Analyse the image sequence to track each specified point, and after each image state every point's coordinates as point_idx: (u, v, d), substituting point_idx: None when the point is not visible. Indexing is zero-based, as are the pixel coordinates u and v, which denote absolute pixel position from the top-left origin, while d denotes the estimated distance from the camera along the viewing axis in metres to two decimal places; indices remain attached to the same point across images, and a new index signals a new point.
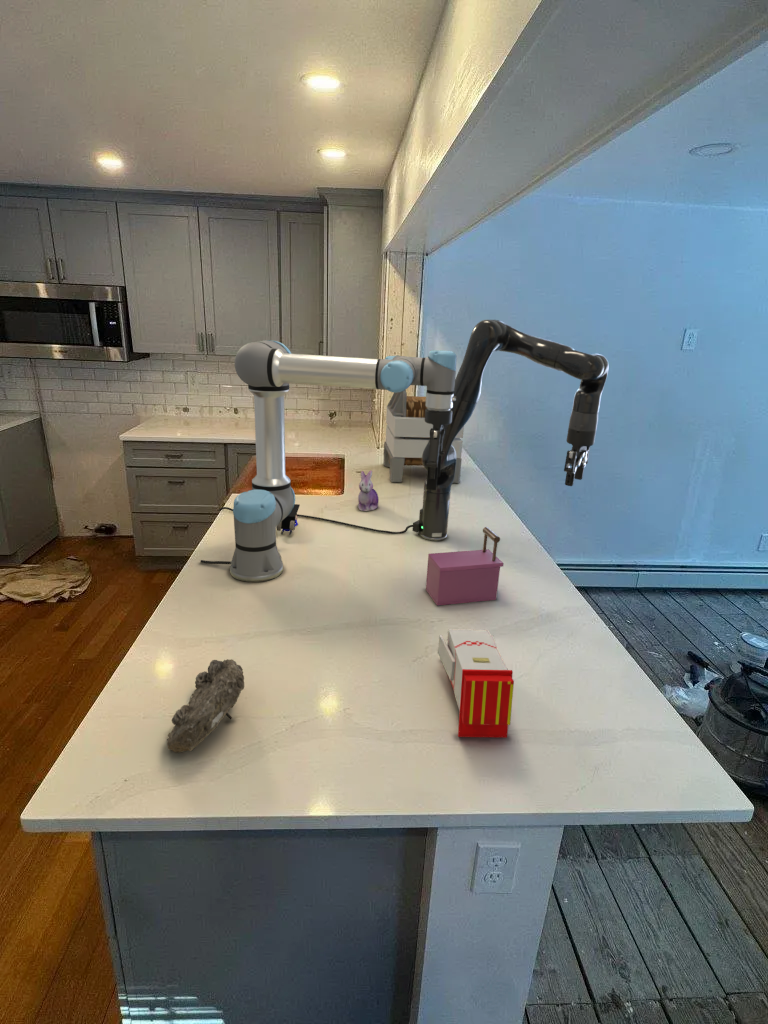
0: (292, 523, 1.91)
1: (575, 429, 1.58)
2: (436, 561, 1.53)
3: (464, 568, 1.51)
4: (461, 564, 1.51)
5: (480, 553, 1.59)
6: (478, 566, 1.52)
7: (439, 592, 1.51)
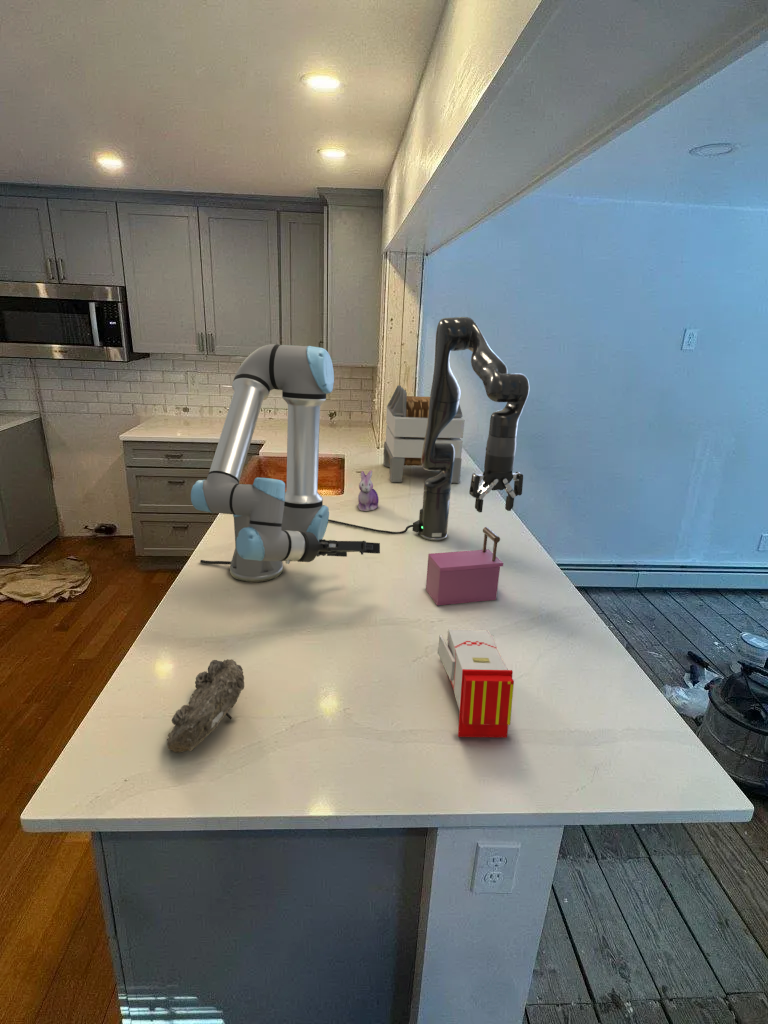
0: None
1: None
2: (436, 561, 1.53)
3: (464, 568, 1.51)
4: (461, 564, 1.51)
5: (480, 553, 1.59)
6: (478, 566, 1.52)
7: (439, 592, 1.51)
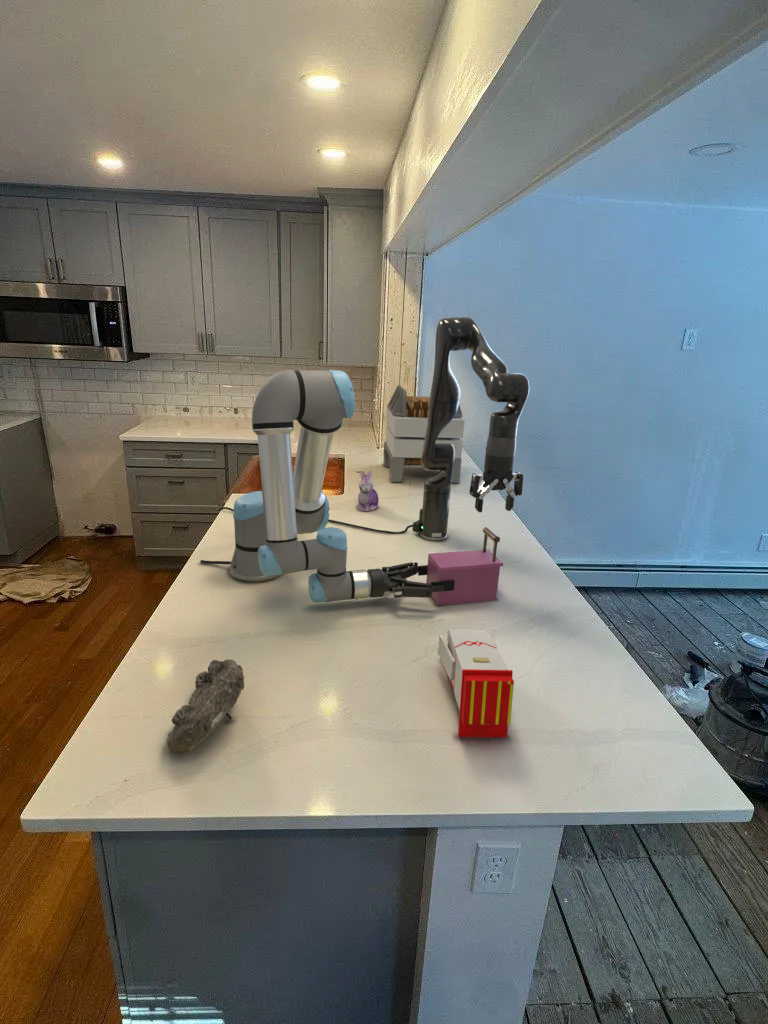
0: None
1: None
2: (436, 561, 1.53)
3: (464, 568, 1.51)
4: (461, 564, 1.51)
5: (480, 553, 1.59)
6: (478, 566, 1.52)
7: (439, 592, 1.51)
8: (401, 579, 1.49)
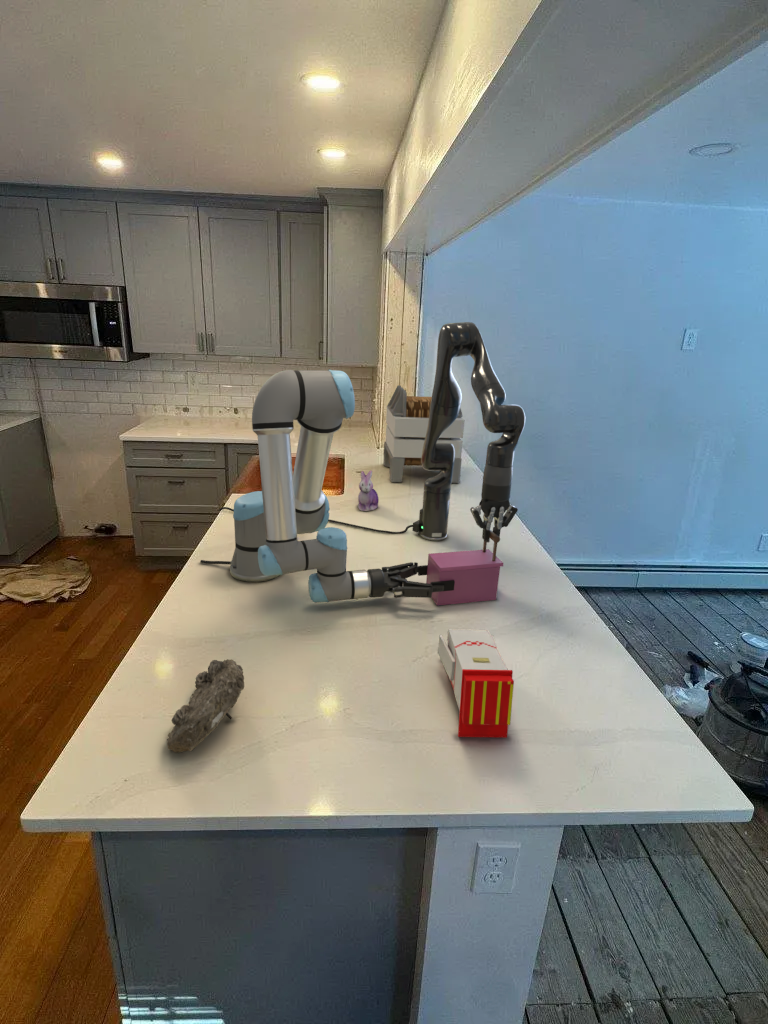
0: None
1: None
2: (436, 561, 1.52)
3: (464, 568, 1.51)
4: (461, 564, 1.51)
5: (480, 553, 1.59)
6: (478, 566, 1.52)
7: (439, 592, 1.51)
8: (401, 579, 1.49)
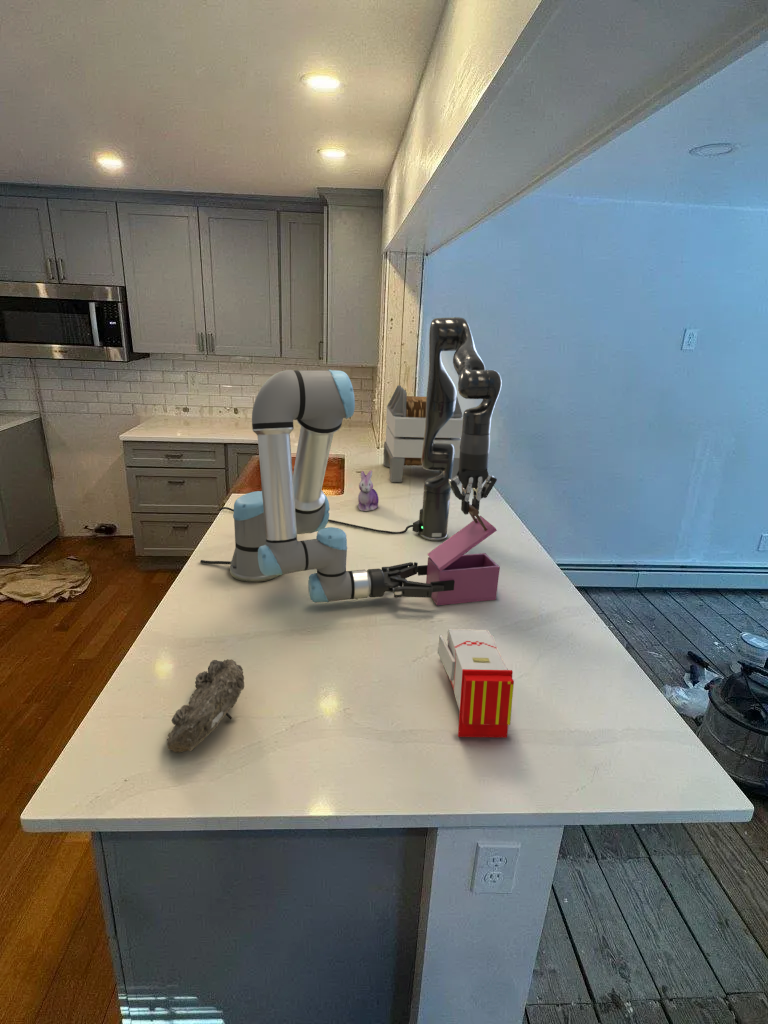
0: None
1: None
2: (435, 561, 1.52)
3: (461, 554, 1.49)
4: (457, 552, 1.50)
5: (473, 526, 1.55)
6: (473, 545, 1.49)
7: (439, 592, 1.51)
8: (401, 579, 1.49)
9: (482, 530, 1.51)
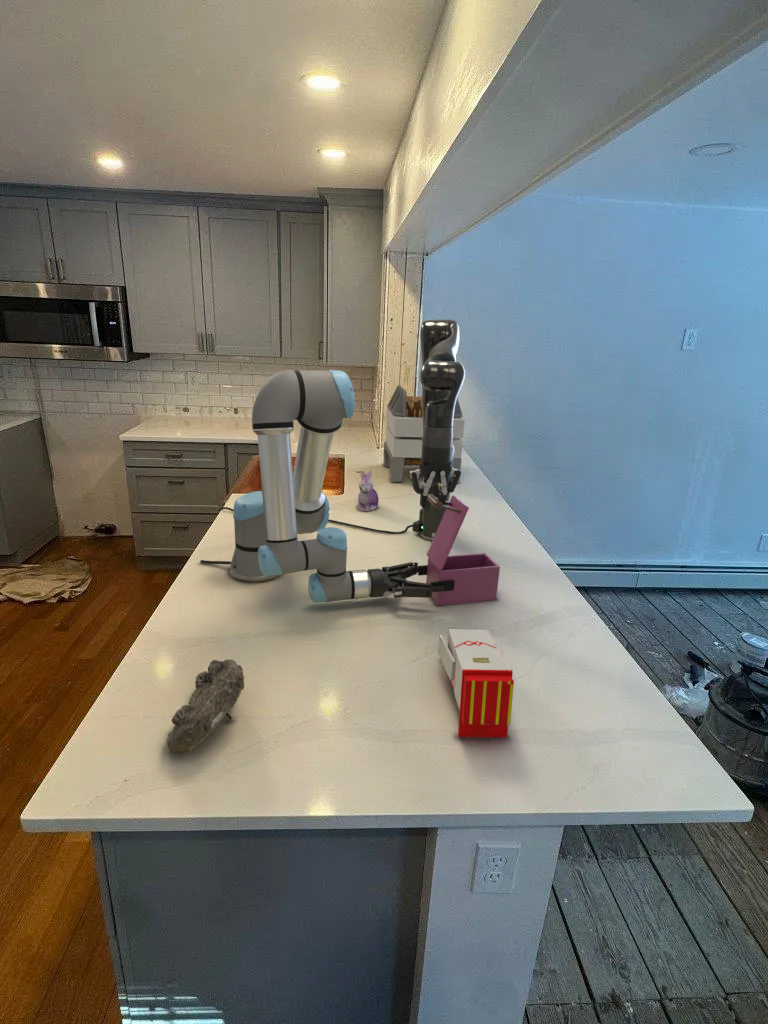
0: None
1: None
2: (433, 561, 1.52)
3: (450, 546, 1.47)
4: (446, 546, 1.48)
5: (450, 510, 1.51)
6: (455, 532, 1.46)
7: (439, 592, 1.51)
8: (401, 579, 1.49)
9: (457, 513, 1.47)
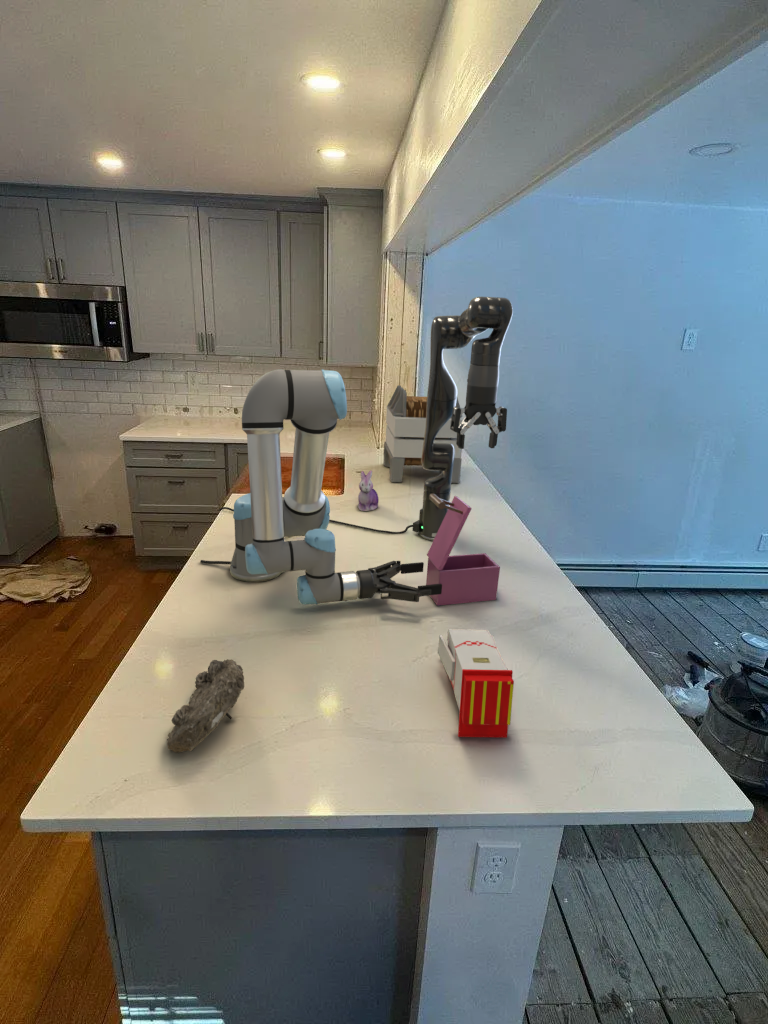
0: None
1: None
2: (433, 561, 1.52)
3: (451, 547, 1.47)
4: (447, 546, 1.48)
5: (452, 511, 1.51)
6: (457, 533, 1.46)
7: None
8: (390, 580, 1.49)
9: (459, 513, 1.48)
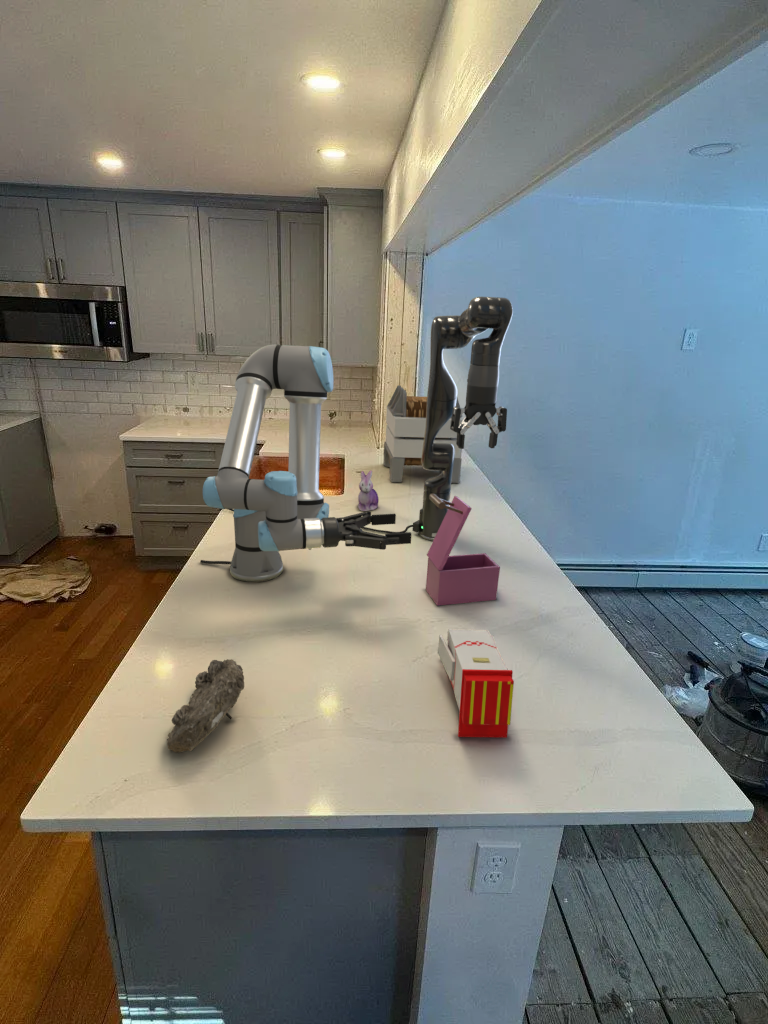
0: None
1: None
2: (433, 561, 1.52)
3: (451, 547, 1.47)
4: (447, 546, 1.48)
5: (452, 511, 1.51)
6: (457, 533, 1.46)
7: (439, 592, 1.51)
8: (357, 528, 1.41)
9: (459, 513, 1.48)
